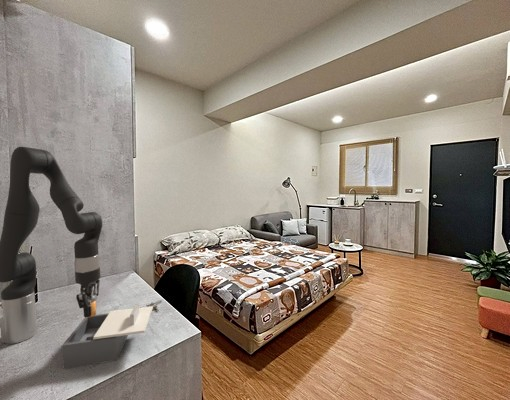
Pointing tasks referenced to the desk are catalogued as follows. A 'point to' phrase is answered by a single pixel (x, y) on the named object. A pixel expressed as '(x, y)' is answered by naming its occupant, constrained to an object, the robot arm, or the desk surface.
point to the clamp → (154, 305)
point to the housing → (90, 344)
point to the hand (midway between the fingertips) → (90, 313)
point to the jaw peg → (93, 306)
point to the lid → (124, 322)
